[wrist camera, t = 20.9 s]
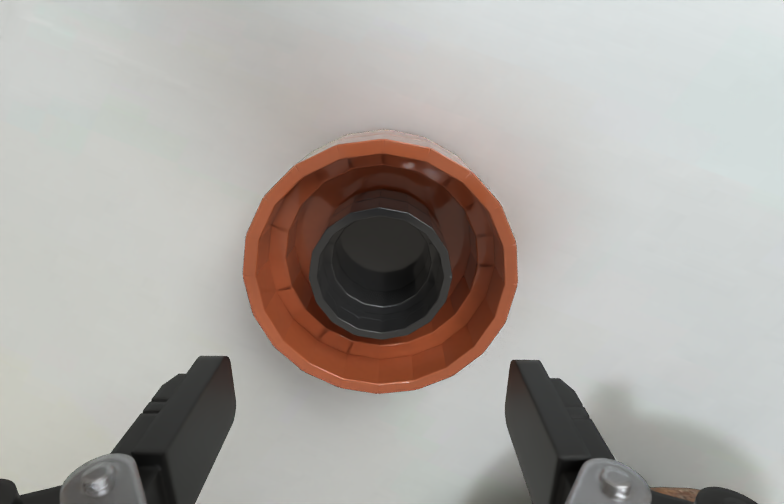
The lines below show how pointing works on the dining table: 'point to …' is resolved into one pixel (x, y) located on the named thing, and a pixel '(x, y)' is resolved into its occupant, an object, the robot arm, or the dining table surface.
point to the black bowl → (381, 266)
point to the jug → (678, 492)
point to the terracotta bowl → (305, 224)
